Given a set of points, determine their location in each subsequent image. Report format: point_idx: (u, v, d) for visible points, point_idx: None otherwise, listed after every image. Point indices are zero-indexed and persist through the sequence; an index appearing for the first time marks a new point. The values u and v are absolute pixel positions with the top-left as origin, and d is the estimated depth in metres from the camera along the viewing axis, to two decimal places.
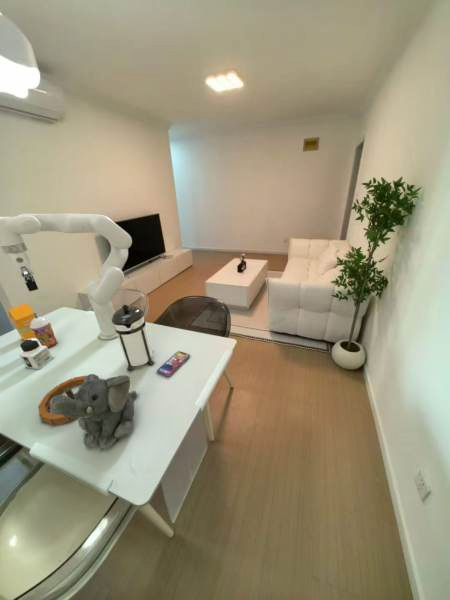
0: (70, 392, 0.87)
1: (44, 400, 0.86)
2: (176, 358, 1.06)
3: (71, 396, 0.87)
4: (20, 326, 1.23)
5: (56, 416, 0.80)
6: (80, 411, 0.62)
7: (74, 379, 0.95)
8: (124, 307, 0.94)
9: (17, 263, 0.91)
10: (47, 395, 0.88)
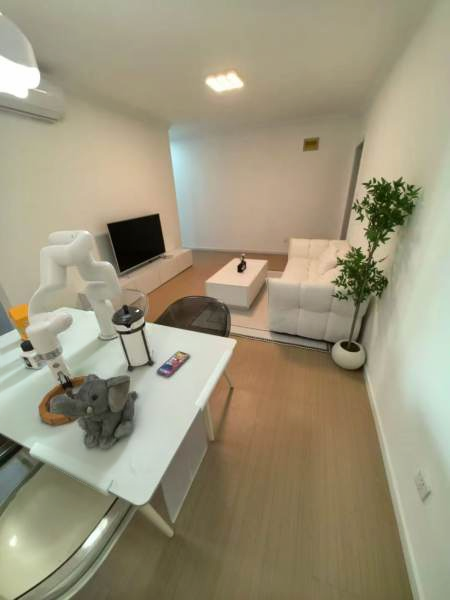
0: (70, 392, 0.87)
1: (44, 400, 0.86)
2: (176, 358, 1.06)
3: (71, 396, 0.87)
4: (20, 326, 1.23)
5: (56, 416, 0.80)
6: (80, 411, 0.62)
7: (74, 379, 0.95)
8: (124, 307, 0.94)
9: (54, 369, 0.85)
10: (47, 395, 0.88)
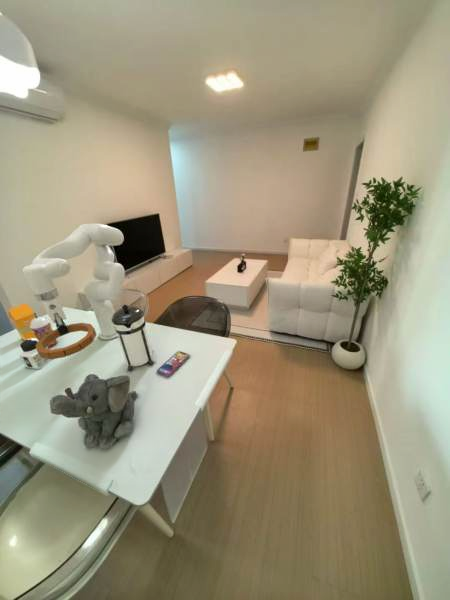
0: (70, 392, 0.87)
1: (42, 340, 0.91)
2: (176, 358, 1.06)
3: (71, 396, 0.87)
4: (20, 326, 1.23)
5: (52, 350, 0.84)
6: (80, 411, 0.62)
7: (70, 325, 1.00)
8: (124, 307, 0.94)
9: (50, 310, 0.90)
10: (44, 337, 0.93)
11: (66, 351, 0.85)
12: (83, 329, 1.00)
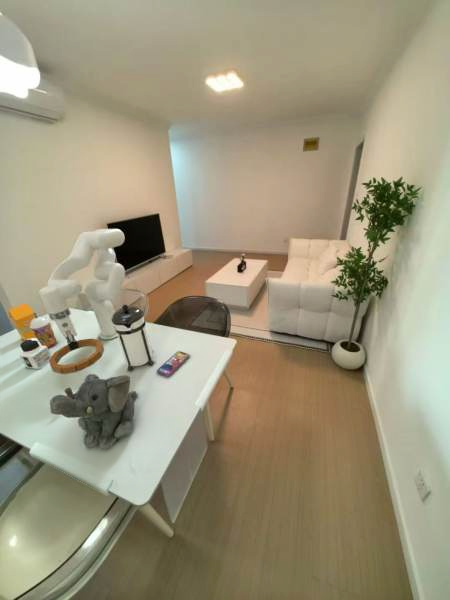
0: (70, 392, 0.87)
1: (54, 355, 0.98)
2: (176, 358, 1.06)
3: (71, 396, 0.87)
4: (20, 326, 1.23)
5: (65, 366, 0.92)
6: (80, 411, 0.62)
7: (80, 341, 1.07)
8: (124, 307, 0.94)
9: (63, 328, 0.97)
10: (56, 352, 1.00)
11: (77, 367, 0.92)
12: (92, 344, 1.08)
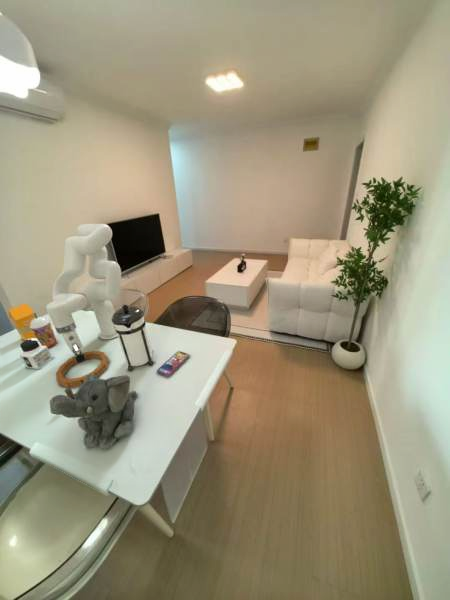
0: (70, 392, 0.87)
1: (60, 369, 1.01)
2: (176, 358, 1.06)
3: (71, 396, 0.87)
4: (20, 326, 1.23)
5: (71, 380, 0.95)
6: (80, 411, 0.62)
7: (85, 353, 1.10)
8: (124, 307, 0.94)
9: (69, 341, 1.01)
10: (62, 365, 1.04)
11: (83, 380, 0.95)
12: (96, 356, 1.11)
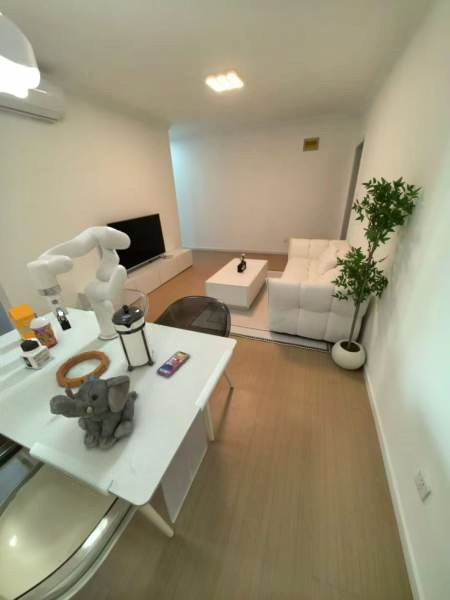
0: (70, 392, 0.87)
1: (60, 369, 1.01)
2: (176, 358, 1.06)
3: (71, 396, 0.87)
4: (20, 326, 1.23)
5: (71, 380, 0.95)
6: (80, 411, 0.62)
7: (85, 353, 1.10)
8: (124, 307, 0.94)
9: (53, 305, 0.92)
10: (62, 365, 1.04)
11: (83, 380, 0.95)
12: (96, 356, 1.11)
